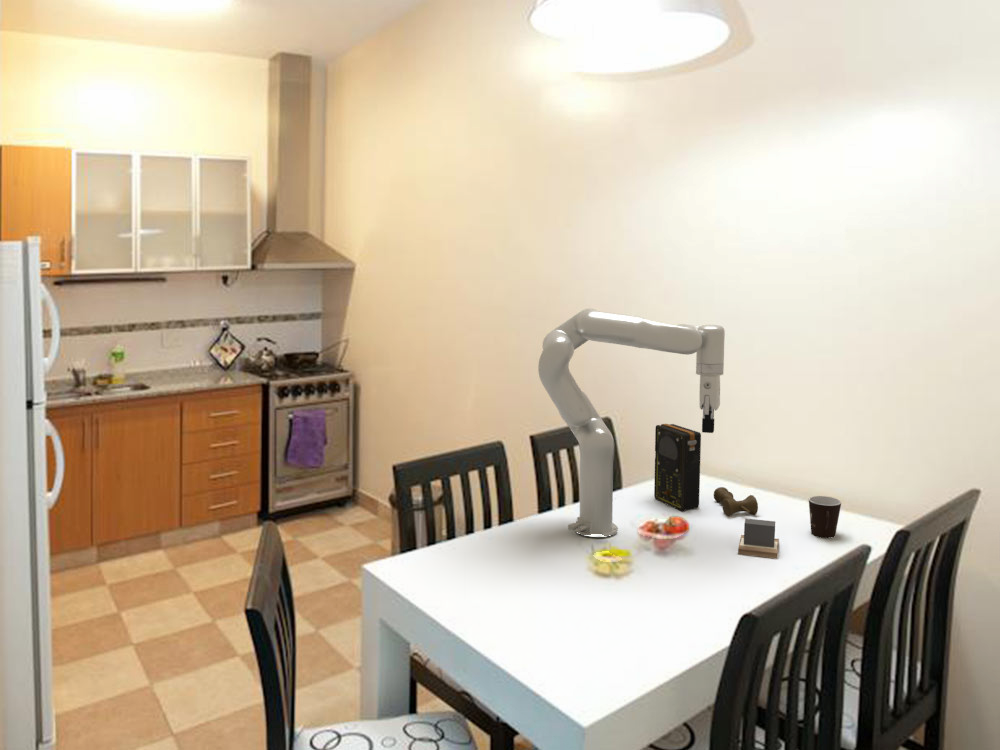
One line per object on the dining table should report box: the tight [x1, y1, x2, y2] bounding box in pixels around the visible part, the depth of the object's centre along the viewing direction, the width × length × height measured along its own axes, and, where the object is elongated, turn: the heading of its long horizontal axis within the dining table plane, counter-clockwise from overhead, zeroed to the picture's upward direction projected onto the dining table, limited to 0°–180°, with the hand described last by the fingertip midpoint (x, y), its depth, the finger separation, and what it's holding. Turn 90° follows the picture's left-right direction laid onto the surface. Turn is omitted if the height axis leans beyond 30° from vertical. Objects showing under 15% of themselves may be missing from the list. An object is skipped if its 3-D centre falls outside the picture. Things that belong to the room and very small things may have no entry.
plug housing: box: [743, 518, 776, 548], centre depth 216 cm, size 4×8×6 cm, turn 70°
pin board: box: [737, 534, 780, 559], centre depth 216 cm, size 11×10×5 cm
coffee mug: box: [808, 495, 842, 539], centre depth 225 cm, size 12×9×10 cm
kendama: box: [713, 486, 759, 518], centre depth 248 cm, size 6×10×20 cm
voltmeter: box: [653, 423, 702, 512], centre depth 253 cm, size 16×9×25 cm, turn 25°
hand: (707, 431), depth 228 cm, fingers closed
